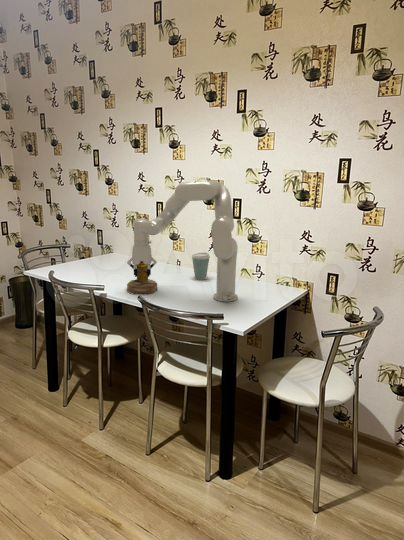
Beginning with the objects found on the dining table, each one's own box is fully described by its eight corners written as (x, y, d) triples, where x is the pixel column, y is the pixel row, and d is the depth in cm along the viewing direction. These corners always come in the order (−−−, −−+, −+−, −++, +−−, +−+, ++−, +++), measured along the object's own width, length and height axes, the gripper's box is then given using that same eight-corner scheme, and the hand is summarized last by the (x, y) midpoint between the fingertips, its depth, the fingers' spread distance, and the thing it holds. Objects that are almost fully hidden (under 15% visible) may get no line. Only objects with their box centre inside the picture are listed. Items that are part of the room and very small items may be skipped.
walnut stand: (157, 294, 224) (156, 287, 223) (125, 294, 222) (125, 287, 221) (157, 285, 239) (157, 278, 238) (128, 285, 238) (128, 278, 237)
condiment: (151, 281, 229) (150, 260, 226) (136, 284, 224) (135, 262, 221) (145, 278, 235) (144, 257, 231) (130, 280, 230) (129, 259, 227)
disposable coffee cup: (194, 281, 247) (194, 256, 243) (189, 276, 257) (189, 252, 253) (211, 280, 250) (212, 255, 246) (206, 275, 260) (207, 251, 256)
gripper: (158, 241, 228) (158, 274, 233) (125, 241, 227) (126, 274, 232) (158, 244, 221) (158, 277, 226) (124, 244, 220) (125, 278, 224)
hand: (142, 275), depth 229 cm, fingers open, 6 cm apart
